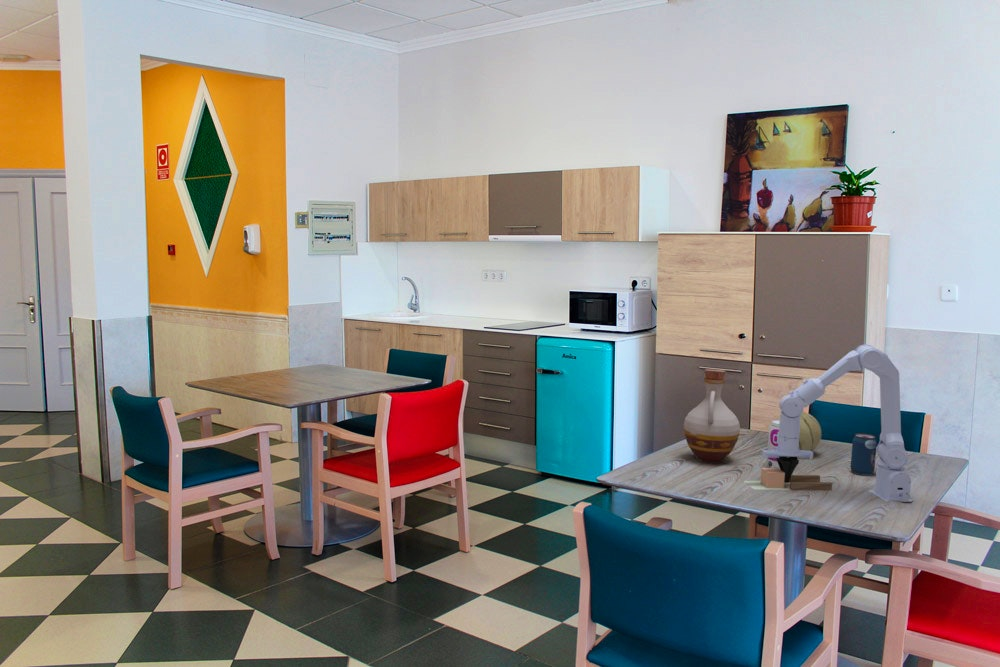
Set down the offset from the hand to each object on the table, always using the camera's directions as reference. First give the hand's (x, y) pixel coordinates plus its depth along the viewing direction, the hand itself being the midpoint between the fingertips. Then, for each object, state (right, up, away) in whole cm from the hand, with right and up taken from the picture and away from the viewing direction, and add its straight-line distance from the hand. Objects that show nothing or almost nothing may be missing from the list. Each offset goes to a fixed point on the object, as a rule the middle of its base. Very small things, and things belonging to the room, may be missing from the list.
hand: (785, 481), depth 236 cm
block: (-4, -1, 0) cm, 4 cm away
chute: (0, -2, 0) cm, 2 cm away
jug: (-15, +2, +28) cm, 32 cm away
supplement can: (+5, 0, +21) cm, 21 cm away
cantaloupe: (+18, +2, +40) cm, 44 cm away
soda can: (+31, -1, +18) cm, 36 cm away
